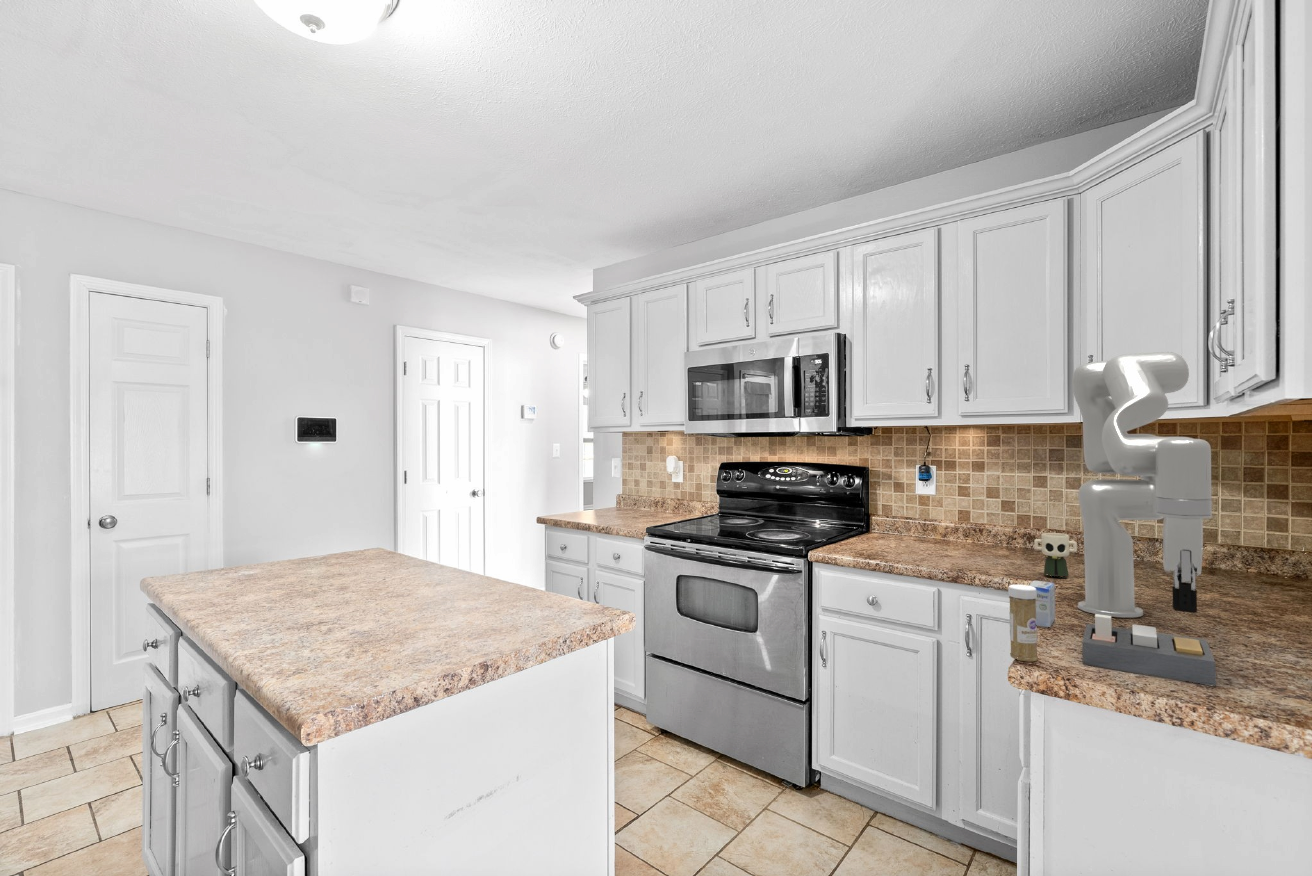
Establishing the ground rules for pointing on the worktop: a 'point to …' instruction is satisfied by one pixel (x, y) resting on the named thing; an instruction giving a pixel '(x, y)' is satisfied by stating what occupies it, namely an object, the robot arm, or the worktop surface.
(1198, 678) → the control panel
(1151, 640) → the white button
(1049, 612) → the medicine box
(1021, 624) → the sprinkles bottle
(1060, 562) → the character mug
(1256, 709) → the worktop surface
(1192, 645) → the amber button
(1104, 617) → the slider lever
